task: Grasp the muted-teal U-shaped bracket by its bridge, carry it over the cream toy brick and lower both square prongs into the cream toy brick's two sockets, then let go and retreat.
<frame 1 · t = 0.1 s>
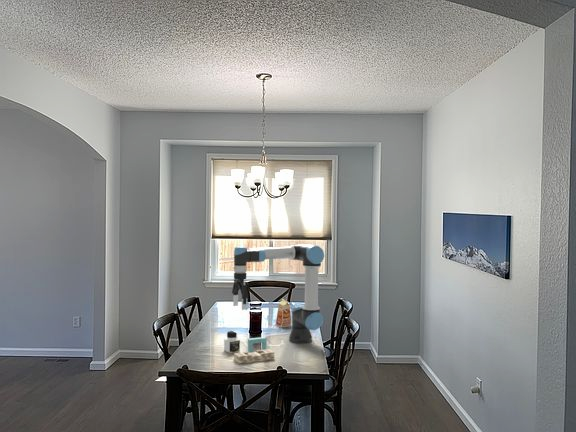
hand: (239, 307, 327), 28 cm above the table, fingers open, 13 cm apart
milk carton: (283, 326, 406), on the table
medicine bottle: (231, 351, 333), on the table
clip: (257, 352, 331), on the table
cream toy brick: (254, 359, 315), on the table
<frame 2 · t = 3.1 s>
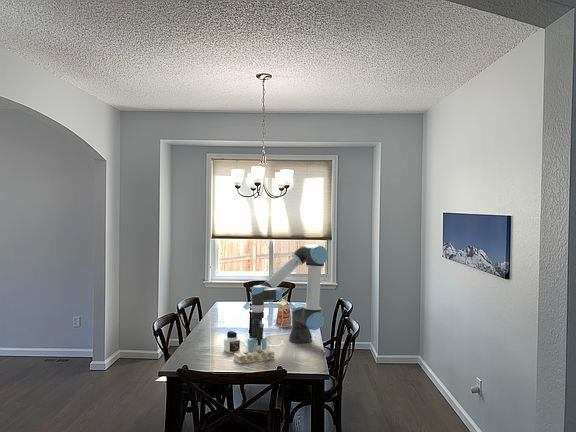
hand: (257, 349, 331), 2 cm above the table, fingers closed on clip, 3 cm apart
clip: (257, 352, 331), on the table, touching gripper
everything else where it was.
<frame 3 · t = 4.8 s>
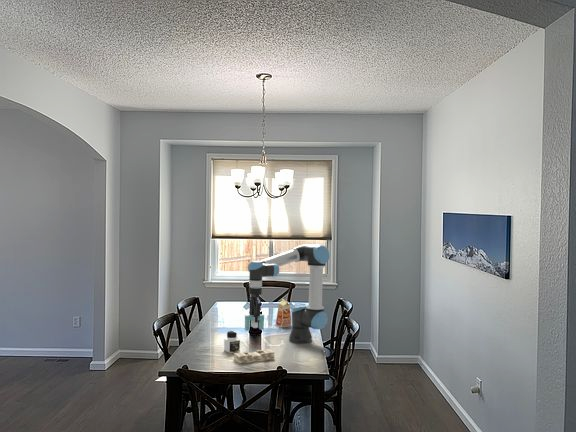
hand: (254, 327, 321), 18 cm above the table, fingers closed on clip, 3 cm apart
clip: (254, 329, 321), point 16 cm above the table, touching gripper
everything else where it was.
when the fingers open (4 cm above the table, at t = 6.8 s): clip drops 2 cm, resting on cream toy brick.
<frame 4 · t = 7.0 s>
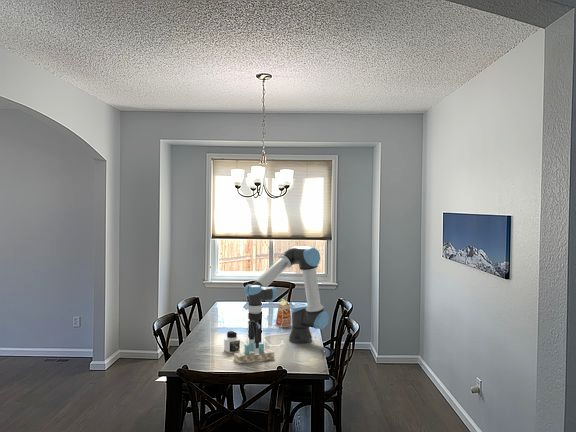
hand: (254, 352, 315), 4 cm above the table, fingers open, 6 cm apart
clip: (254, 358, 315), resting on cream toy brick
everything else where it was.
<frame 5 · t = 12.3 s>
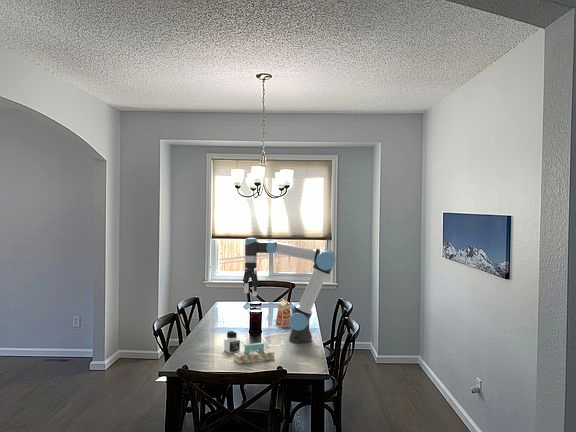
hand: (250, 294, 351), 32 cm above the table, fingers open, 13 cm apart
nothing on the table moved.
at the end: clip 0.0 cm off-centre on the cream toy brick, point 0.5 cm above the cream toy brick's base; clip tilted 0°; the gripper is holding nothing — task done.
